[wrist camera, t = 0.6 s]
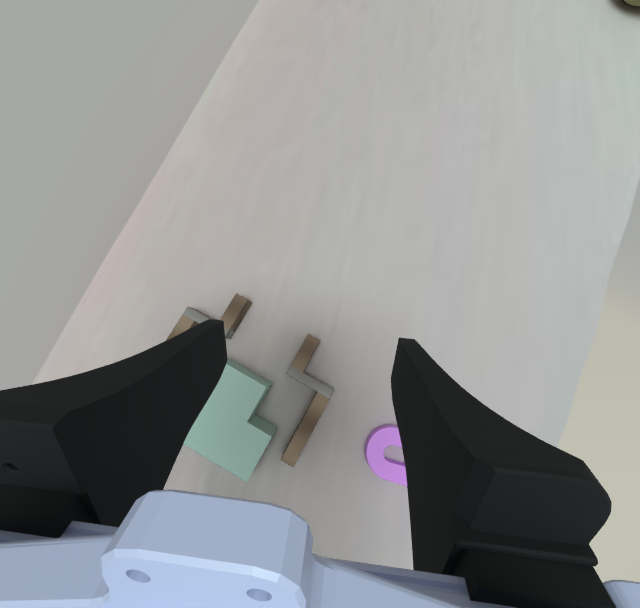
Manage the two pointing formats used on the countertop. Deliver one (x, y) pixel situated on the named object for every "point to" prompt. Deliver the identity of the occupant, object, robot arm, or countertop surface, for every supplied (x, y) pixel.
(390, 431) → the bracket
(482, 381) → the countertop surface
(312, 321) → the countertop surface
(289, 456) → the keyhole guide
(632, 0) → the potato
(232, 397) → the t slider
